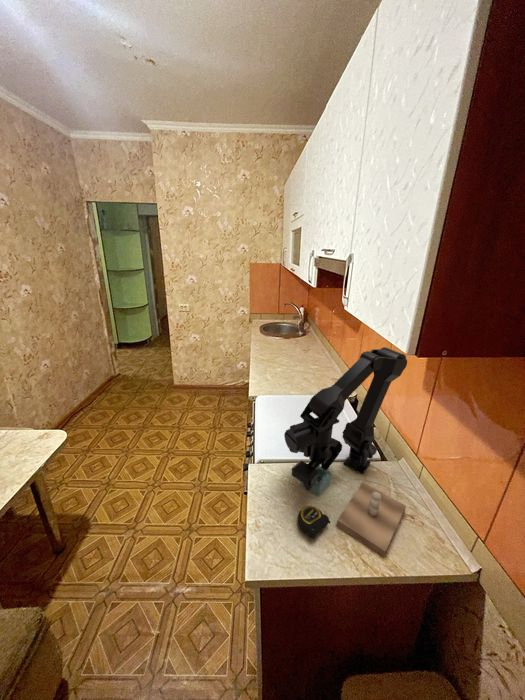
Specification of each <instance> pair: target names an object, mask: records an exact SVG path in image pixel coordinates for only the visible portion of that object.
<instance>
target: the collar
mask: <svg viewBox="0 0 525 700" xmlns="http://www.w3.org/2000/svg"><path fill="white" fill-rule="evenodd" d="M316 470H317V472H318V476H317V478H318V479H317V480H316V482H315V483H314V485H313V486H312V488H311V489H310V491H309V492H311V493H312V494H314V495H316V496H317V497H321V495H322V494H323V493H324V491H325V490H326V489H327V488H328V486H329V485H330V484H331V479H332V472H331V471H329V470H328V469H327V470H325V469H324V468H322V467H321V465H320V466H319V467H318V468H317V469H316ZM318 480H319V481H318ZM299 483H300V484H299V485H300V486H301V487H303V488H304V489H305V487H304V485H303V482H301V481H299Z"/></svg>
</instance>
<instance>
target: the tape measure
mask: <svg viewBox="0 0 525 700" xmlns="http://www.w3.org/2000/svg"><path fill="white" fill-rule="evenodd" d="M331 522H332V521H331V520H330V519H329V516H328V515H326V514H324V513H322V511H321V509H320V508H318V507H316V506H313V505H306V506H303V507H302V508H301V509H300V510H299V511H298V513H297V526H298V528H299V530H300V532H301V533H303V534H304V535H306V536H307V537H308V538H309V539H310V540H314V539H316V538H317V537H318V535H319V533H321V531H323V529H325V528H326V526H328V525H329V524H331Z"/></svg>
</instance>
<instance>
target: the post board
mask: <svg viewBox="0 0 525 700" xmlns="http://www.w3.org/2000/svg"><path fill="white" fill-rule="evenodd" d="M406 509H407V505H406V504H404V503H403V502H400V501H398V500H397V499H394V498H393V497H391V496H389V495H387V494H386V493H384V492H382V491H380V490H378V489H376V488H374V487H372V486H371V485H369V484H367V483H365V482H363V481H362V482H361V484H360V485H359V487H358V489H357V490H356V491H355V493H354V495H353V496H352V497H351V499H350V501H349V502H348V503H347V505H346V506H345V507H344V509H343V510H342V511H341V514H340V516H339V517H338V518H337V520H336V525H335V526H337V527H338V528H339V529H341V530H343V531H344V532H345V533H346V534H348V535H349V536H351V537H353V538H354V539H356V540H357V541H359V542H361V543H362V544H363V545H365V546H366V547H368V548H369V549H371V550H373V551H374V552H375V553H377V554H378V555H380V556H381V557H382V558H384V557H385V555H386V553H387V550H388V549H389V546H390V545H391V542H392V540H393V537H394V535H395V534H396V531H397V529H398V527H399V524H400V523H401V520H402V517H403V515H404V514H405V511H406Z"/></svg>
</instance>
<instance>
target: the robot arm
mask: <svg viewBox="0 0 525 700" xmlns="http://www.w3.org/2000/svg"><path fill="white" fill-rule="evenodd" d="M407 365H408V359H407V357H406V354H404V353H402V352H399V351H396V350H394V349H391V348H389V347H386V346H385V347H384V346H383V347H381V348H379V349H376V348H375V349H371V350H369V351H368V350H367V351H363V352H362V353H361V354H360V356H359V358H358V359H357V361H356V362H355V363H353V365H351V367H350V368H348V369H347V371H346V372H344V374H342V375H341V377H339V378H338V379H337V380H336V381H335V383H333V384H332V385H331V386H330V387H326V388H322V389H321V390H320V391H318V392H317V393H315V395H313V396H312V397H311V398H310V399H309V402H308V403H307V404H306V406H305V408H304V409H303V410H302V413H301V414H300V416H299V418H301V419H302V420H303V421H302V422H299V423H297V424H292V425H289V428H287V429H286V430H285V432H284V435H283V436H284V440H285V441H284V442H285V444H286V446H287V448H288V450H289V451H290V453H294V454H298V453H302V454H303V456H304V457H306V458H309V460H310V461H309V462H308V463H306V462H305V461H303V460H299V461H297V463H296V464H295V465H293V466H292V468H291V472H290V473H291V474H290V475H291V476H292V477H293V478H294V479H296V480H297V481H299V482H300V481H301V482H303V485H304V487H305V488H304V487H303V488H304V490H305V491H306V492H311V491H310V489H311V488H312V486H313V485H314V483H315V482H316V481H318V480H319V479H318V478H317V476H318V472H317V470H316V469H317V468H318V467H319V466H320V467H322V468H324V469H325V470H327V471H328V470H329V468H330V467H331V466H332V464H333V463H334V461H335V460H336V459H337V458H338V456H339V455H340V453H341V452H342V451H343V444H342V442H341V441H340V440H337V439H336V438H333V437H332V436H333V429H334V425H336V424H338V423H340V419H338V417H339V415H340V414H341V413H342V412H343V411H344V408H345V403H346V400H347V399H348V398H349V397H350V396H351V395H352V394H353V393H354V392H355V391H356V390H357V389H358V388H359V387H360V386H361V385H362V384H363V383H364V382H365V381H366V380H367V379H368V377H370V375H371V374H373V376H372V378H371V379H372V380H371V382H370V385H369V387H368V389H367V392H366V394H365V397H364V399H363V401H362V404H361V406H360V408H359V411H358V413H357V416H356V418H355V419H354V420H352V421H351V422H347V423H345V427H344V429H343V431H342V433H341V434H342V439H343V441H344V443H345V444H346V445H347V446H348V447H349V454H348V457H347V458H346V459H345V461H344V462H343V465H344V466H346V467H348V468H349V469H352V470H354V471H356V472H357V473H359V474H362V475H363V474H364V473H365V472H366V470H367V469H368V467H369V466H370V465H371V461H370V460H368V459H373V457H374V455H376V454H377V451H378V447H376V445H374V444H373V443H374V438H375V434H374V423H375V420H376V418H377V416H378V415H379V411H380V409H381V406H382V404H383V402H384V399H385V397H386V395H387V393H388V391H389V388H390V386H391V384H392V382H394V380H396V379H398V378H399V377H401V375H402V374H403V372H404V370H405V369H406V368H407ZM312 414H314V415H315V416H316V417H314V416H312Z"/></svg>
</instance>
